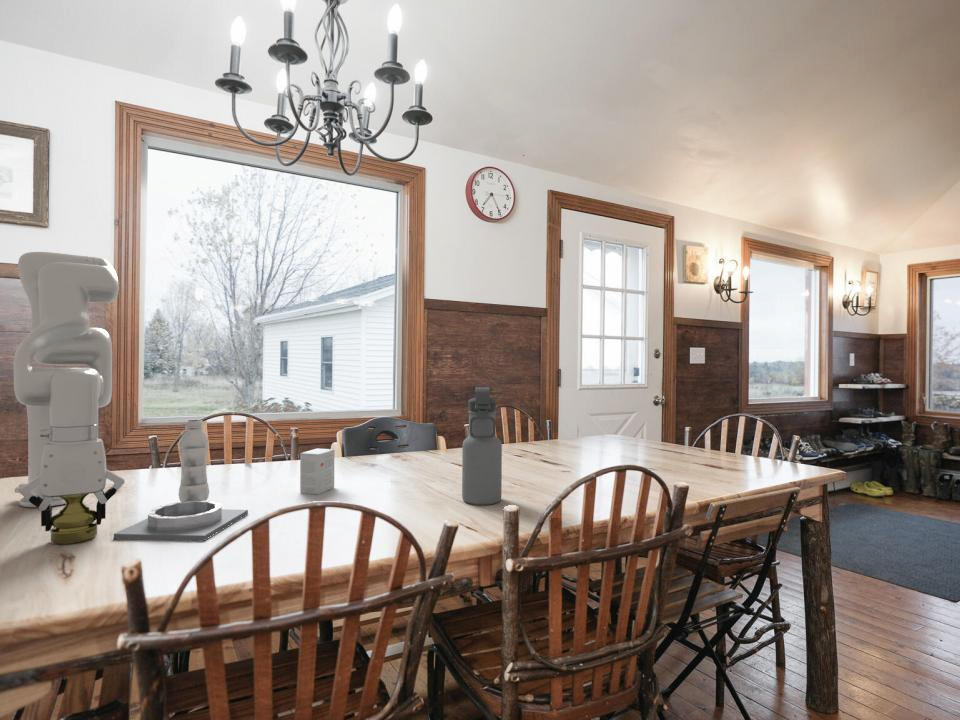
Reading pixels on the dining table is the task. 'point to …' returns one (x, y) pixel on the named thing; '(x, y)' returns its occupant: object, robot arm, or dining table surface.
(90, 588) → the dining table surface
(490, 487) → the water bottle
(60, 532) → the olive turned piece
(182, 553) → the dining table surface
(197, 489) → the plastic bottle
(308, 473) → the small box
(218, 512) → the steel ring
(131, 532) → the seat board
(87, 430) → the robot arm
